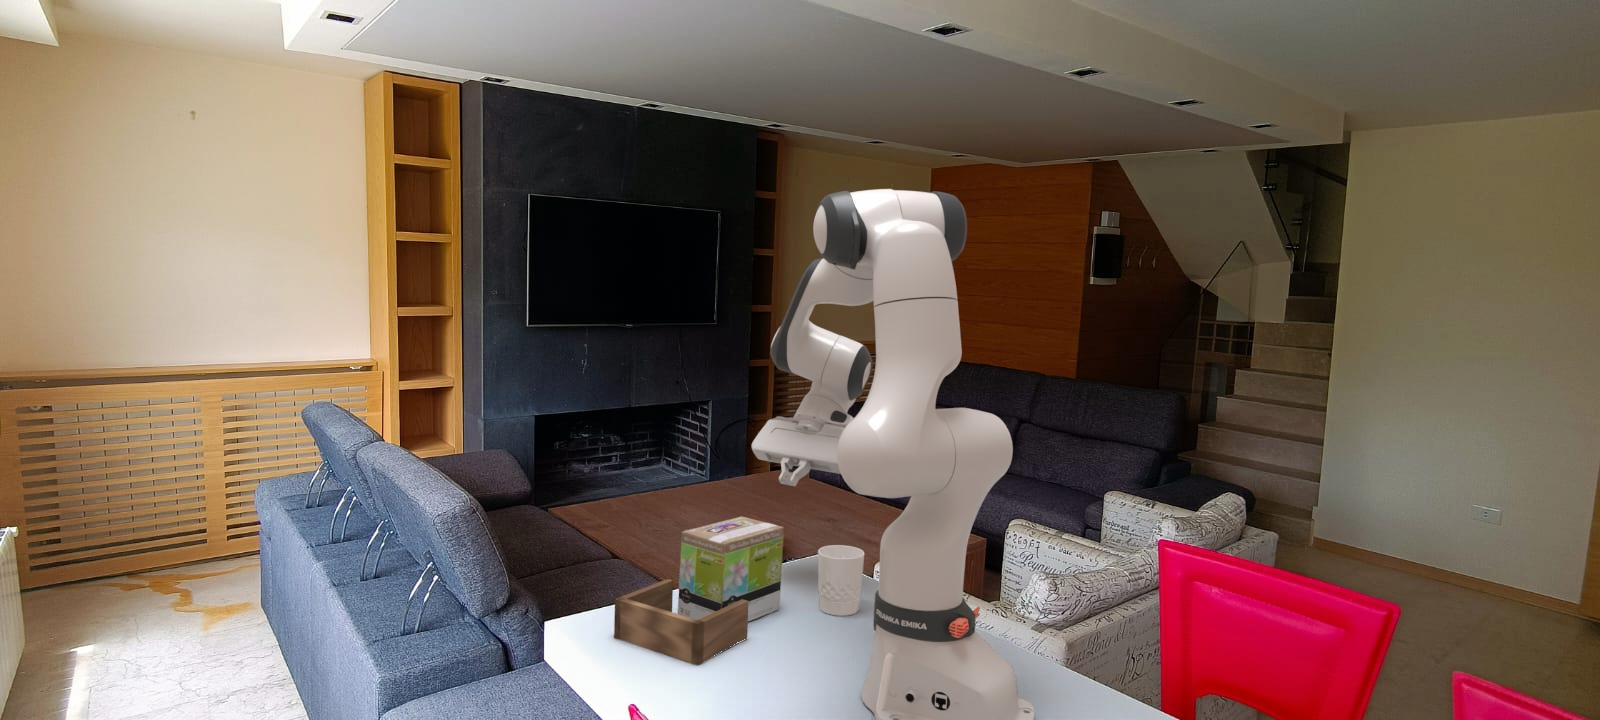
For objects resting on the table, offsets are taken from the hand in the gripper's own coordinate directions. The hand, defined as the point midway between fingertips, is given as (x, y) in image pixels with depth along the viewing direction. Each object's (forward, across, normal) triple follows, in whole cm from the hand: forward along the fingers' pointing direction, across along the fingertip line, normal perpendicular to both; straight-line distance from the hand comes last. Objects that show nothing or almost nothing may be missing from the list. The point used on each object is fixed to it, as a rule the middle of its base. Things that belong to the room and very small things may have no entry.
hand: (786, 483), depth 154 cm
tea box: (+24, -1, +4) cm, 24 cm away
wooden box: (+33, -1, -5) cm, 33 cm away
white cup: (+14, +12, +14) cm, 23 cm away
